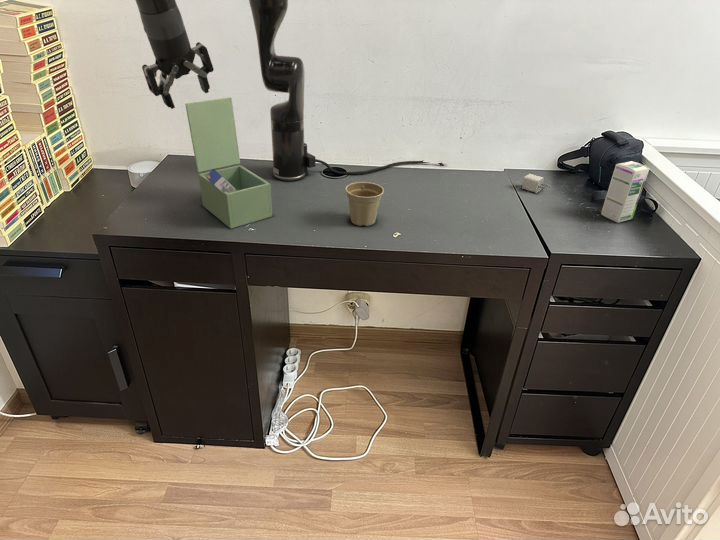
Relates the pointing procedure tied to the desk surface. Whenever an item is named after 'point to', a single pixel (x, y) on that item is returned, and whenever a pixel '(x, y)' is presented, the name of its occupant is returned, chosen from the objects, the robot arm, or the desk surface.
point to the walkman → (220, 182)
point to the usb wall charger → (534, 183)
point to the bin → (237, 197)
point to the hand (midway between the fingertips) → (188, 99)
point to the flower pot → (364, 202)
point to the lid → (213, 133)
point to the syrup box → (624, 191)
